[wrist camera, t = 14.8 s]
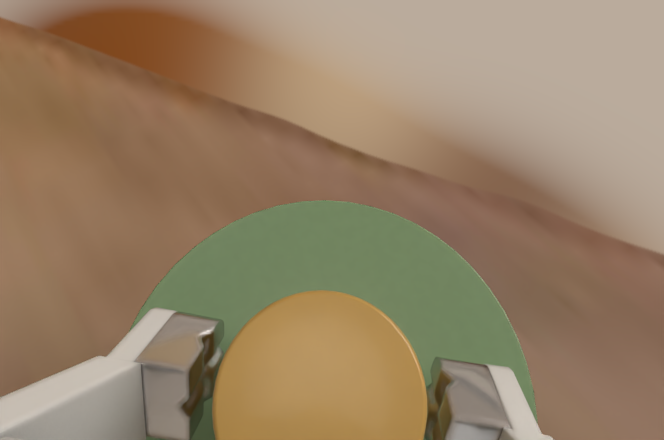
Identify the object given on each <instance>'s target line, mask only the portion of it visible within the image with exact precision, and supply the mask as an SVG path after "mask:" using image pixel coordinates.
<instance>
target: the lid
mask: <svg viewBox="0 0 664 440" xmlns="http://www.w3.org/2000/svg"><path fill="white" fill-rule="evenodd" d="M156 307H157V308H163V309H168V310H173V311H177V312H178V311H180V312H185V313H190V314H196V315H201V316H206V317H211V318H216V319H221V320H222V321H223V322H224V337H223V339H222V341H221V342H220V344H219V346H220V347H221V349H222V350H223V352H224V357H223V360H222V362H221V364H220V367H219V370H218V374H217V377H216V380H215V386H214V392H213V396H212V397H211V398H210V399H208V400H207V401H205V402H204V415H203V417H202V419H201V421H200V423H199V425H198V427H197V429H196V431H195V433H194V435H193V437H192V439H191V440H426V439H425V437H424V434H425V430H426V422H427V393H426V387H427V386H428V385H429V384H431V383H432V379H431V373H430V370H431V366H432V363H433V361H434V359H435V357H436V356H437V357H443V358H449V359H455V360H461V361H467V362H473V363H479V364H490V365H497V366H504V367H509V368H510V369H511V370H512V371H513V372H514V375H515V377H516V379H517V381H518V383H519V385H520V388H521V390H522V392H523V394H524V396H525V398H526V401H527V403H528V405H529V407H530V409H531V411H532V413H533V416H534V418H535V420H536V422H537V414H536V406H535V398H534V391H533V387H532V383H531V379H530V374H529V370H528V366H527V362H526V360H525V357H524V354H523V351H522V349H521V346H520V343H519V340H518V338H517V335H516V333H515V331H514V329H513V327H512V325H511V323H510V321H509V319H508V317H507V315H506V313H505V311H504V310H503V308H502V307H501V305H500V303H499V302H498V300H497V299H496V297H495V296H494V294H493V293H492V291H491V290H490V288H489V287H488V286H487V284H486V283H485V282H484V281H483V280H482V278H481V277H480V276H479V275H478V274H477V272H476V271H475V270H474V269H473V268H472V267H471V266H470V265H469V264H468V263H467V262H466V261H465V260H464V259H463V258H462V257H461V256H460V255H459V254H458V253H457V252H456V251H455V250H454V249H452V248H451V247H450V246H448V245H447V244H446V243H444V242H443V241H442V240H441V239H439V238H438V237H437V236H435V235H434V234H432V233H430V232H429V231H427V230H425V229H424V228H422V227H420V226H419V225H417V224H415V223H413V222H411V221H409V220H407V219H404V218H402V217H400V216H398V215H396V214H393V213H390V212H387V211H384V210H381V209H378V208H374V207H371V206H367V205H361V204H356V203H351V202H341V201H326V200H323V201H303V202H296V203H290V204H284V205H279V206H275V207H272V208H269V209H265V210H262V211H258V212H255V213H253V214H251V215H248V216H246V217H244V218H241V219H239V220H237V221H234V222H233V223H231V224H229V225H227V226H225V227H224V228H222V229H220V230H218V231H217V232H215V233H213V234H212V235H210V236H209V237H208V238H206V239H205V240H204V241H202V242H201V243H200V244H198V245H197V246H195V247H194V248H193V249H192V250H191V251H190V252H188V253H187V254H186V255H185V256H184V257H183V258H182V259H181V260H180V261H179V262H178V263H176V264H175V265H174V266H173V268H172V269H171V270H170V271H169V272H168V273H167V274H166V276H165V277H164V278H163V279H162V280H161V281H160V283H159V284H158V285H157V286H156V288H155V289H154V290H153V292H152V293H151V295H150V296H149V298H148V299H147V301H146V302H145V304H144V305H143V306H142V308H141V310H140V312H139V313H138V315H137V317H136V319H135V321H134V323H133V325H132V327H131V328H130V330H131V329H132V328H133V327H134V326H135V325H136V324H137V323H138V322H139V321H140V320H141V319H142V318H143V316H144V315H145V314H146V313H147V312H148V311H149V310H150V309H153V308H156ZM130 330H129V331H130ZM128 333H129V332H128ZM537 424H538V422H537ZM146 440H166V439H160V438H154V437H147V436H146Z"/></svg>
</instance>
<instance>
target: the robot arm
mask: <svg viewBox="0 0 664 440" xmlns="http://www.w3.org/2000/svg"><path fill="white" fill-rule="evenodd" d="M223 337H224V322H223V321H222V320H221V319H216V318H211V317H206V316H201V315H196V314H190V313H185V312H180V311H178V312H177V311H173V310H168V309H163V308H157V307H156V308H153V309H150V310H149V311H148V312H147V313H146V314H145V315H144V316H143V318H142V319H141V320H140V321H139V322H138V323H137V324H136V325H135V326H134V327H133V328H132V329H131V330H130V331H129V333H128V334H127V335H126V336H125V337H124V338H123V339H122V340H121V341H120V342H119V343H118V344H117V345H116V346H115V347H114V349H113V350H112V351H111V352H110V353H109V354H108V355H107V356H106V357H103V356H97V357H94V358H92V359H89V360H87V361H85V362H82V363H80V364H78V365H75V366H73V367H71V368H68V369H66V370H64V371H61V372H59V373H56V374H54V375H52V376H49V377H47V378H45V379H42V380H40V381H38V382H35V383H33V384H31V385H28V386H26V387H23V388H21V389H19V390H16V391H14V392H12V393H9V394H7V395H5V396H2V397H0V440H146V436H147V437H154V438H160V439H166V440H191V439H192V437H193V435H194V433H195V431H196V429H197V427H198V425H199V423H200V421H201V419H202V417H203V415H204V402H205V401H207V400H208V399H210V398H211V397H212V396H213V392H214V386H215V380H216V377H217V374H218V370H219V367H220V364H221V362H222V360H223V357H224V352H223V350H222V349H221V347H220V346H219V344H220V342H221V341H222V339H223ZM430 373H431V379H432V383H431V384H429V385H428V386H427V387H426V393H427V422H426V430H425V434H424V437H425V439H426V440H554V439H553V438H552V437H551V436H547V435H542V433H541V431H540V429H539V426H538V424H537V422H536V420H535V418H534V416H533V413H532V411H531V409H530V407H529V405H528V403H527V401H526V398H525V396H524V394H523V392H522V390H521V388H520V385H519V383H518V381H517V379H516V377H515V375H514V372H513V371H512V370H511V369H510V368H509V367H504V366H497V365H490V364H479V363H473V362H467V361H461V360H455V359H449V358H443V357H437V356H436V357H435V359H434V361H433V363H432V366H431V370H430Z"/></svg>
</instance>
